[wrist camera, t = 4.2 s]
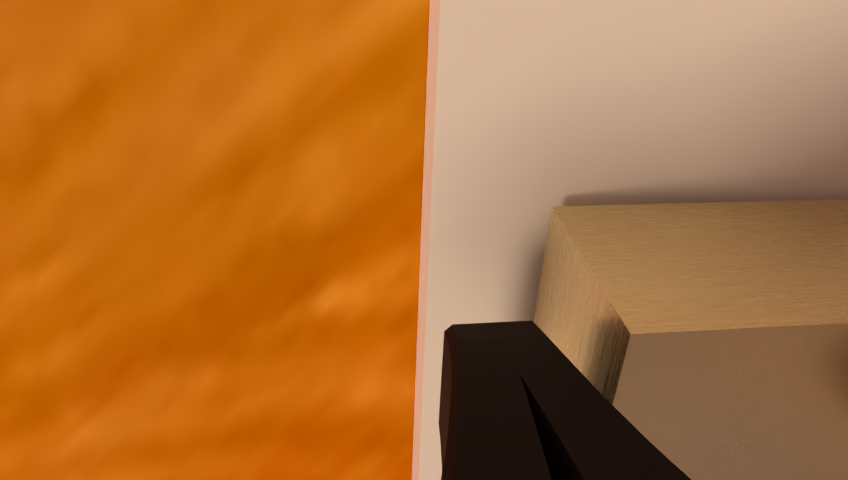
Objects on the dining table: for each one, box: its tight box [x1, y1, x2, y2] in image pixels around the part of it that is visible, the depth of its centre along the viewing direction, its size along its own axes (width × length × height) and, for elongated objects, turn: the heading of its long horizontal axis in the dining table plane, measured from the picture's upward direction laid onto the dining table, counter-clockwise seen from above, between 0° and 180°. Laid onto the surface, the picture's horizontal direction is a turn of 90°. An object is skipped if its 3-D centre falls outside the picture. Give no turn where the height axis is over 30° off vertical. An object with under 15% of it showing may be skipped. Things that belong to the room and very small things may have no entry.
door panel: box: [412, 0, 848, 480], centre depth 12 cm, size 12×16×1 cm
